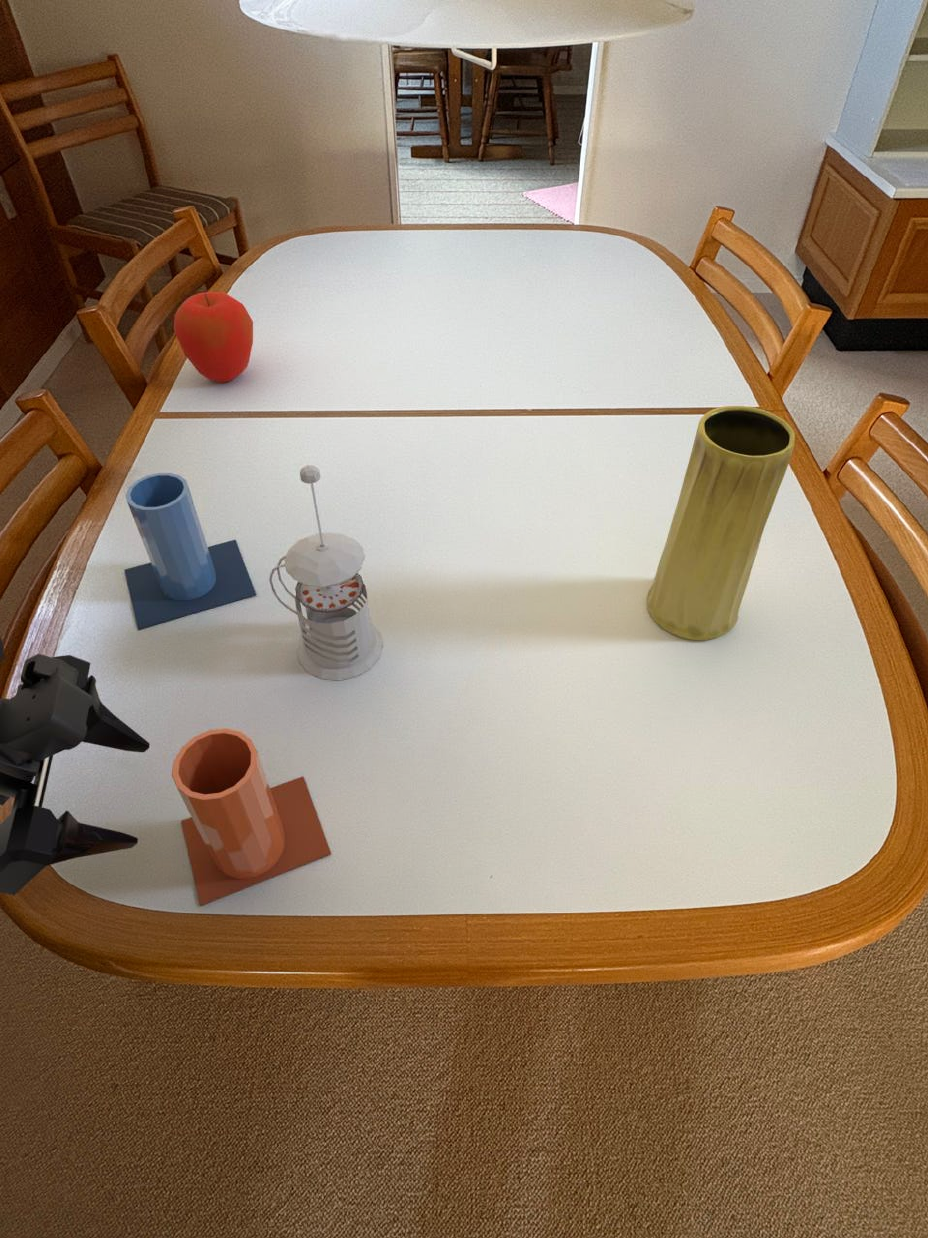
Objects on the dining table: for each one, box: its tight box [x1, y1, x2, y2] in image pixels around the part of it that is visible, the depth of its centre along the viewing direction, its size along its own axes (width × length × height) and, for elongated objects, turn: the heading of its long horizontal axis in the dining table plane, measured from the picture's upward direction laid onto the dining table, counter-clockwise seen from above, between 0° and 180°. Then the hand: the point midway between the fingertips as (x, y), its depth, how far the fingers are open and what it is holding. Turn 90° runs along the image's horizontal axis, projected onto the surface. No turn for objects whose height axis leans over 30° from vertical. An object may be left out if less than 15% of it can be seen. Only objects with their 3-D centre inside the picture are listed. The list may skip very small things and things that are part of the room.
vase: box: [646, 405, 796, 641], centre depth 85 cm, size 11×11×25 cm
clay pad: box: [180, 775, 332, 907], centre depth 74 cm, size 12×9×1 cm
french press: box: [268, 464, 384, 682], centre depth 81 cm, size 10×12×25 cm
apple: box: [173, 291, 254, 384], centre depth 125 cm, size 12×12×14 cm
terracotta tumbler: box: [171, 727, 285, 879], centre depth 68 cm, size 7×7×14 cm
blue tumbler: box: [125, 472, 216, 601], centre depth 92 cm, size 7×7×14 cm
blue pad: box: [124, 539, 257, 631], centre depth 97 cm, size 14×11×1 cm
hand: (141, 793), depth 66 cm, fingers open, 9 cm apart
